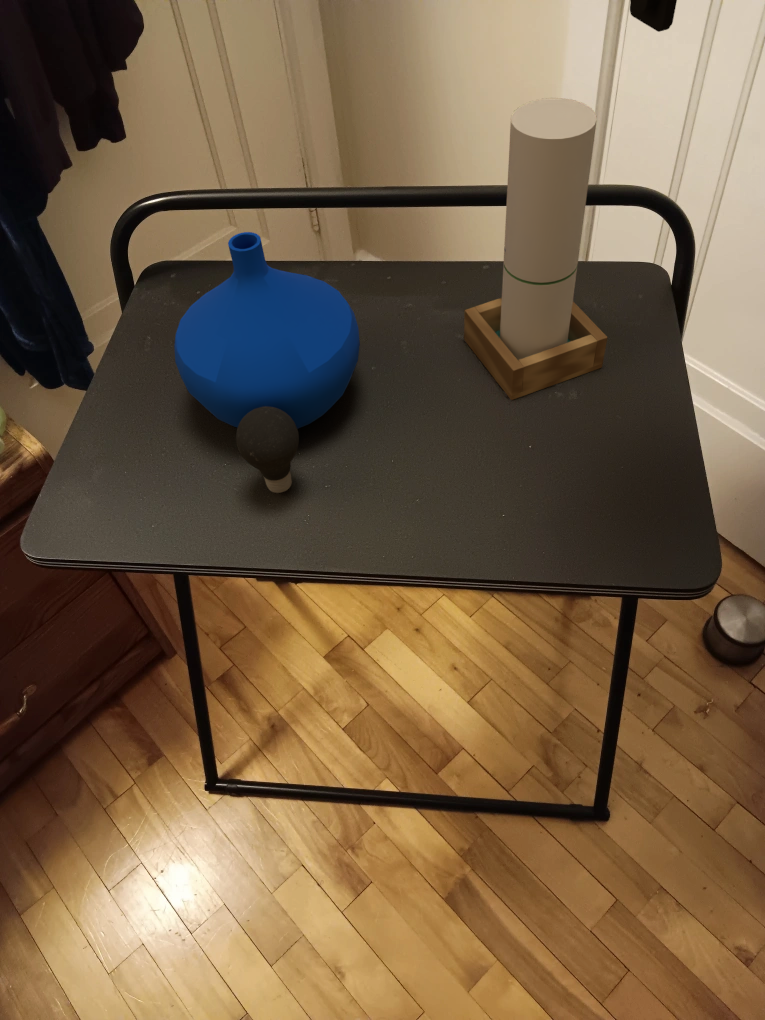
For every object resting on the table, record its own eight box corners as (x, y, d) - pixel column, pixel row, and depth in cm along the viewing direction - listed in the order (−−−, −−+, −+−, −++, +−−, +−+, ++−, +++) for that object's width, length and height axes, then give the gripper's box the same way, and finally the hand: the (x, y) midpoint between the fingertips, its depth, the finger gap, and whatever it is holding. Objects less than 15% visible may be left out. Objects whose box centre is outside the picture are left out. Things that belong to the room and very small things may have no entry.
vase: (200, 350, 94) (152, 196, 79) (360, 334, 94) (342, 176, 79) (188, 471, 82) (129, 317, 68) (371, 452, 82) (352, 294, 67)
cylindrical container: (565, 326, 91) (594, 96, 71) (567, 370, 87) (599, 138, 67) (499, 326, 92) (510, 98, 72) (498, 369, 87) (510, 140, 68)
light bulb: (252, 470, 82) (230, 396, 74) (308, 463, 82) (292, 389, 74) (251, 514, 78) (229, 442, 71) (310, 507, 78) (294, 434, 71)
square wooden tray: (549, 310, 94) (552, 280, 91) (602, 367, 88) (607, 337, 84) (463, 339, 92) (464, 309, 89) (511, 400, 86) (513, 370, 82)
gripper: (705, -424, 30) (629, 64, 44) (1062, -477, 34) (890, -10, 47) (594, -428, 35) (556, 15, 48) (919, -475, 38) (799, -49, 51)
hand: (721, 2), depth 48 cm, fingers open, 9 cm apart
